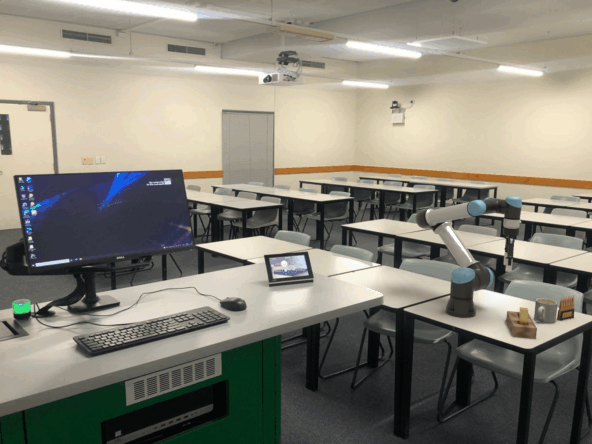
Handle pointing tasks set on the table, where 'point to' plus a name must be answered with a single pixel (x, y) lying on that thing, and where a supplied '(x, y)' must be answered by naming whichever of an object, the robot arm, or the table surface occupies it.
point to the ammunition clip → (566, 308)
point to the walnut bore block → (521, 326)
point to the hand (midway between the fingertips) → (507, 268)
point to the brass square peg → (523, 316)
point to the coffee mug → (545, 310)
